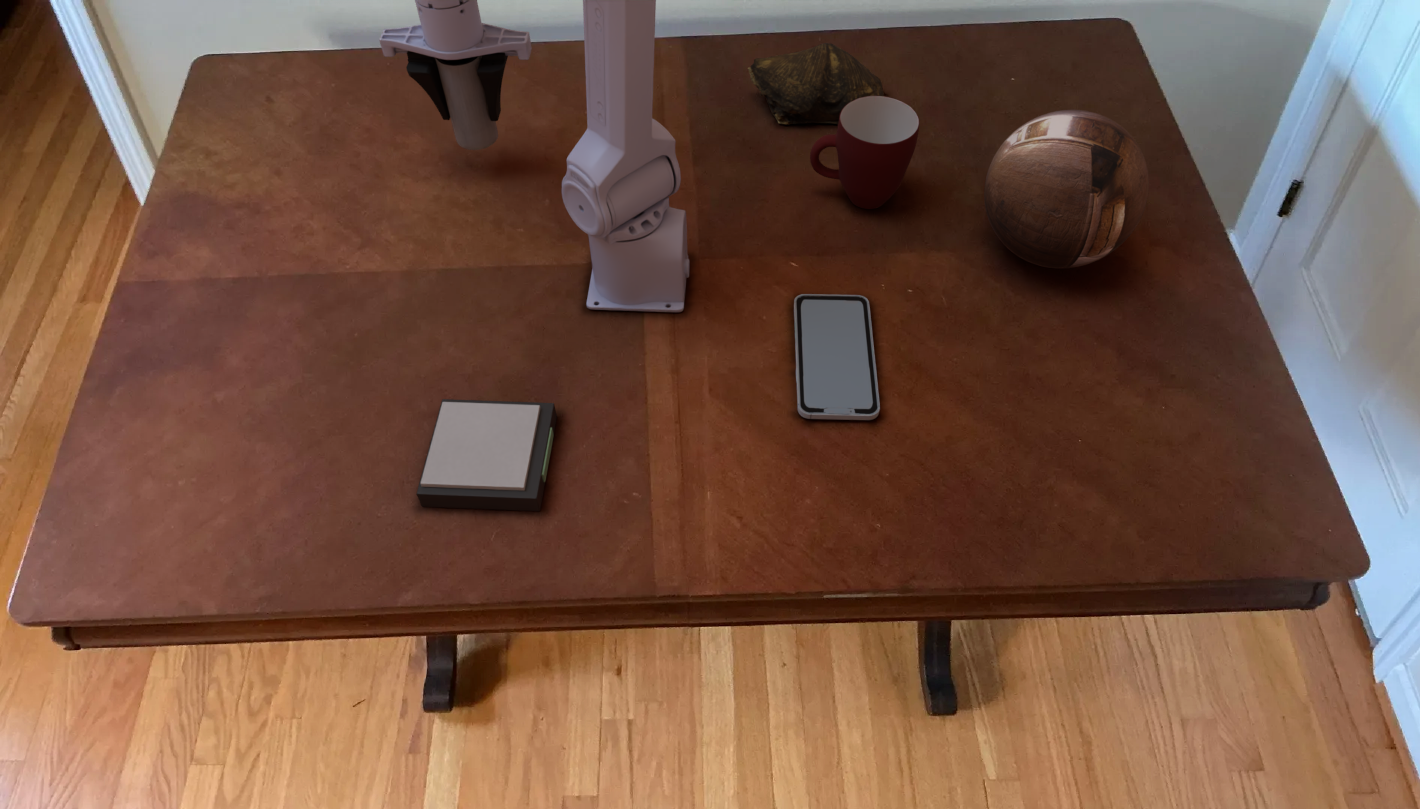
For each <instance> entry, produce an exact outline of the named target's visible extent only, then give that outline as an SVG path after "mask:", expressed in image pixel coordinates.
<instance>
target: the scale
mask: <svg viewBox="0 0 1420 809" xmlns="http://www.w3.org/2000/svg"><path fill="white" fill-rule="evenodd" d="M557 418H558V414H557V409H556V406H555V403H554V402H539V401H538V402H537V401H535V402H534V401H508V400H507V401H506V400H505V401H504V400H479V399H478V400H477V399H453V398H451V399H450V398H442V399H441V401H440V406H439V410H438V413H437V416H436V420H435V425H434V428H433V432H432V435H431V438H430V443H429V445H428V449H427V454H426V457H425V461H424V465H423V468H422V472H421V475H420V479H419V482H418V486H417V490H416V496H417V499H418V501H419V503H420V506H421V507H424V508H447V509H474V510H497V511H498V510H501V511H522V512H523V511H527V512H540V511H541V507H542V503H543V502H542V501H543V496H544V491H545V486H546V480H547V475H548V469H549V464H550V459H551V458H550V457H551V452H552V447H553V442H554V436H555V429H556V425H557Z"/></svg>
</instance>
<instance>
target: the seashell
mask: <svg viewBox="0 0 1420 809" xmlns="http://www.w3.org/2000/svg"><path fill="white" fill-rule="evenodd" d="M746 69H747V71H748V75H749V76H750V80H751V82H752V84H753V85H754V86H755V87H756V88H757V90H758V91H759V92H760V94H759V95H760V97H762V96H763V97H764V98H765V100H766V102H767V105H768V108H769V110H770V112H771V114H772V115H773V117H774V118H775V119H776V121H777V123H778V124H779V125H787V126H788V125H792V124H794V125H797V124H798V125H799V124H835V125H838V123H839V116H840V113H841V110H842V109H843V108H844V106H846V105H847V104H848V103H849V102H851V101H853V100H855V99H858V98H862V97H867V96H885V95H884V94H885V93H884V90H883V83H882V80H881V78H879V77H878V76H877V75H875V74H874V73H872V72H871V70H870V69H869V68H867V67H866V66H865V65H864V64H862V62H860V61H859V60H858V59H857V58H856V57H854V56H853V55H852V54H851V53H850V52H848V51H846V50H844V49H843V48H841V47H839V46H837V45H835V44H833V43H830V42H824V43H820V44H817V45H814V46H813V47H809V48H807V49H803V50H800V51H799V50H798V51H794V52H790V53H783V54H777V55H773V56H767V57H756V58H755V59H753V63H752V64H751V65H750V66H748V67H747V68H746Z"/></svg>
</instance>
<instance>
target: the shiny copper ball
mask: <svg viewBox="0 0 1420 809" xmlns="http://www.w3.org/2000/svg"><path fill="white" fill-rule="evenodd" d="M1149 176H1150V175H1149V169H1148V166H1147V162H1146V159H1145V156H1144V153H1143V152H1142V149H1141V147H1140V146H1139V144H1138V143H1137V141H1136V140H1135V138H1134V137H1133V136H1132V135H1131V133H1129V132H1128V131H1127V130H1126V128H1124V127H1123V126H1122V125H1120V123H1117V122H1116V121H1115V120H1113V119H1111V118H1110V117H1107V116H1105V115H1102V114H1100V113H1097V112H1093V111H1090V110H1089V111H1088V110H1084V109H1063V110H1062V109H1061V110H1056V111H1055V110H1054V111H1051V112H1048V113H1045V114H1042V115H1038V116H1037V117H1035V118H1032V119H1030V120H1028V121H1027V122H1025V123H1023V124H1022V125H1021V126H1019V127H1018V128H1017V129H1015V130H1014V131H1013V132H1012V133H1011V134H1010V135H1009V136H1007V137H1006V139H1005V140H1004V141H1003V142H1002V143H1001V145H1000V146H999V148H998V149H997V151H996V152H995V154H994V156H993V157H992V160H991V162H990V164H989V167H988V169H987V173H986V176H985V182H984V188H983V189H984V190H983V193H984V194H983V198H984V201H983V202H984V208H985V214H986V216H987V220H988V222H989V224H990V227H991V229H992V231H993V233H994V234H995V236H996V237H997V238H998V240H999V241H1000V242H1001V243H1002V245H1004V247H1006V249H1007V250H1008V251H1009V252H1011V253H1013V254H1014V255H1015V256H1017V257H1018V258H1020V259H1022V260H1024V261H1025V262H1028V263H1030V264H1033V265H1035V266H1038V267H1039V266H1040V267H1043V268H1048V269H1073V268H1078V267H1084V266H1087V265H1089V264H1092V263H1095V262H1097V261H1099V260H1102V259H1103V258H1106V257H1107V256H1108V255H1110V254H1111V253H1113V252H1114V251H1116V250H1117V249H1118V248H1119V247H1120V246H1122V244H1124V243H1125V242H1126V241H1127V239H1129V237H1130V236H1131V235H1132V233H1133V232H1134V231H1135V229H1136V228H1137V226H1138V224H1139V223H1140V221H1141V219H1142V216H1143V214H1144V213H1145V209H1146V206H1147V203H1148V198H1149V190H1150V189H1149V188H1150V177H1149Z"/></svg>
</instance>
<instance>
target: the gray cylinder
mask: <svg viewBox="0 0 1420 809" xmlns="http://www.w3.org/2000/svg"><path fill="white" fill-rule="evenodd" d="M481 58H482V55H481V56H475V57H470V58H464V59H458V60H444V59H439V58H435V59H436V63H437V67H438V71H439V75H440V79H441V83H442V87H443V91H444V94H445V98H446V102H447V106H448V110H449V114H450V122H451V126H452V129H453V133H454V137H455V142H456V144H457V145H458V146H459V147H461V148H462V149H465V150H469V151H480V150H481V151H482V150H484V149H488V148H489V147H491V146H493V145H494V144H495V143H496V142H497V140H498V139H499V131H498V125H497V121H491V119H490V116H489V112H488V106H487V100H486V96H485V92H484V89H483V86H482V84H481V81H480V79H479V77H478V75H477V69H478V66H479V63H480V60H481Z"/></svg>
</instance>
